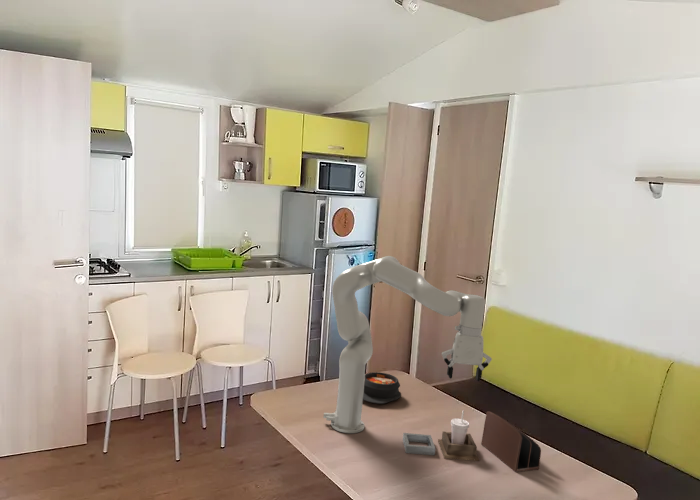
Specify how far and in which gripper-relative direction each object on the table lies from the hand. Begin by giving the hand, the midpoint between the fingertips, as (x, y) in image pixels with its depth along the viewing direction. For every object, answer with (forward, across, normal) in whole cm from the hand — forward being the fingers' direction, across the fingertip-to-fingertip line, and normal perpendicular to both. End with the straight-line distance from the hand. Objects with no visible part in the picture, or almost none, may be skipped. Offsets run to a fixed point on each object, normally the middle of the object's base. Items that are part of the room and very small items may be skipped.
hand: (463, 378), depth 187 cm
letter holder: (+27, +19, -1) cm, 33 cm away
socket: (+26, +1, -1) cm, 26 cm away
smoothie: (+26, +1, 0) cm, 26 cm away
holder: (+26, -13, 0) cm, 29 cm away
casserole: (+27, -24, +44) cm, 57 cm away
